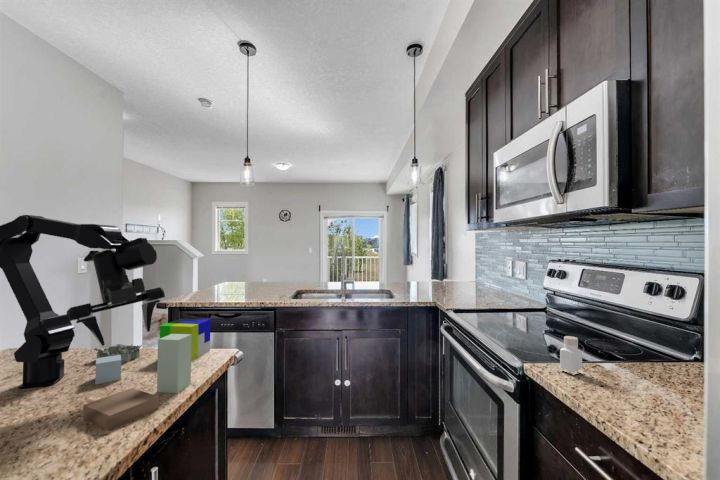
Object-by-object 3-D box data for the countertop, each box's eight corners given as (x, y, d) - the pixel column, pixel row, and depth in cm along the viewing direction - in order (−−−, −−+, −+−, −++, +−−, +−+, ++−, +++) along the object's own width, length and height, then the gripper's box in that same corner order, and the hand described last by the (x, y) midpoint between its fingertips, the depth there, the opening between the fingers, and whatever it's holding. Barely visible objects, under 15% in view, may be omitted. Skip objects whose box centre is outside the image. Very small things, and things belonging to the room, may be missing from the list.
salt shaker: (573, 376, 88) (573, 340, 89) (559, 371, 92) (559, 336, 92) (583, 374, 90) (583, 338, 90) (568, 369, 94) (568, 335, 94)
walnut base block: (83, 420, 65) (83, 404, 65) (132, 401, 73) (132, 387, 73) (109, 432, 61) (109, 415, 61) (158, 411, 69) (158, 396, 69)
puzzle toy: (209, 350, 108) (210, 319, 108) (191, 361, 98) (191, 326, 98) (180, 349, 109) (181, 318, 109) (159, 359, 99) (159, 325, 99)
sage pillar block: (156, 392, 77) (158, 339, 77) (170, 383, 82) (171, 333, 82) (177, 393, 76) (178, 339, 77) (190, 384, 81) (191, 334, 82)
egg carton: (91, 362, 97) (91, 348, 97) (114, 354, 104) (114, 341, 104) (122, 365, 95) (123, 350, 95) (144, 356, 102) (144, 342, 102)
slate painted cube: (95, 384, 81) (95, 363, 81) (95, 378, 85) (96, 358, 85) (120, 380, 84) (121, 359, 84) (120, 374, 88) (120, 354, 88)
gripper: (64, 279, 69) (81, 354, 68) (164, 262, 83) (179, 324, 82) (60, 286, 77) (75, 353, 76) (151, 269, 90) (165, 325, 90)
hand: (126, 338), depth 81 cm, fingers open, 9 cm apart
